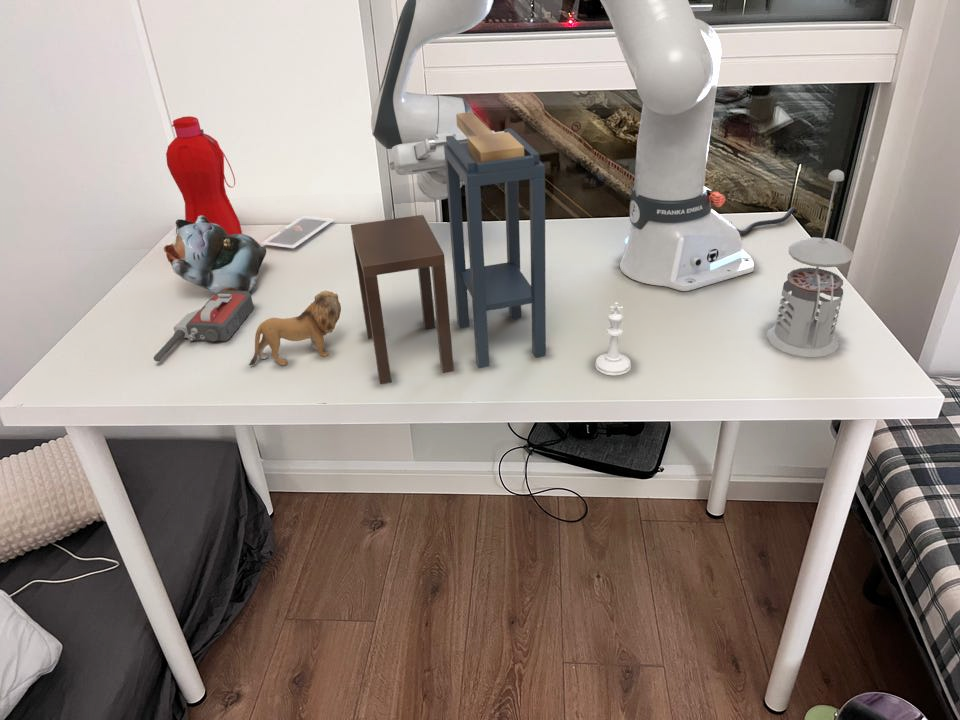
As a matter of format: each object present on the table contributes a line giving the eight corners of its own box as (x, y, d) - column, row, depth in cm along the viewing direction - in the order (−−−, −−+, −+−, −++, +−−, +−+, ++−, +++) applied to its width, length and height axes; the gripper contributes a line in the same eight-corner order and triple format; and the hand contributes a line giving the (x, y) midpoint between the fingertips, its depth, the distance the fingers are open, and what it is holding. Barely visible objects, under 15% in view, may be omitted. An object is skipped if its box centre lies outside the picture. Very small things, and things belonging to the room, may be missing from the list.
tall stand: (518, 313, 120) (513, 127, 104) (545, 356, 109) (545, 155, 93) (457, 323, 118) (443, 136, 102) (478, 368, 107) (466, 166, 91)
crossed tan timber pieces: (483, 123, 111) (482, 107, 110) (524, 164, 94) (524, 146, 93) (446, 127, 110) (445, 112, 109) (481, 169, 93) (480, 152, 92)
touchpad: (336, 224, 155) (334, 214, 154) (294, 253, 144) (292, 242, 143) (304, 220, 158) (302, 210, 157) (260, 248, 146) (258, 238, 145)
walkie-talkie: (210, 303, 128) (151, 367, 111) (204, 279, 126) (142, 341, 109) (259, 304, 127) (207, 369, 110) (254, 280, 124) (199, 343, 108)
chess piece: (630, 377, 103) (634, 312, 98) (593, 374, 104) (596, 310, 99) (631, 357, 107) (635, 295, 102) (596, 355, 108) (598, 293, 103)
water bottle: (243, 255, 144) (211, 123, 131) (186, 258, 144) (149, 126, 131) (256, 236, 152) (227, 109, 138) (202, 238, 152) (168, 112, 139)
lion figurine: (341, 334, 117) (332, 282, 112) (352, 350, 113) (343, 296, 108) (246, 360, 112) (232, 307, 107) (253, 377, 108) (239, 323, 103)
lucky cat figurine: (247, 303, 127) (187, 244, 119) (199, 320, 133) (138, 264, 124) (278, 244, 136) (224, 186, 128) (232, 262, 142) (177, 207, 134)
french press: (831, 323, 112) (869, 158, 99) (849, 366, 103) (894, 189, 89) (762, 320, 114) (790, 157, 100) (773, 362, 104) (806, 188, 91)
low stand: (433, 322, 119) (423, 214, 109) (453, 371, 107) (444, 254, 97) (367, 334, 117) (350, 224, 107) (380, 384, 105) (362, 266, 95)
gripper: (384, 150, 127) (390, 127, 113) (501, 135, 131) (520, 111, 117) (391, 188, 127) (397, 169, 114) (507, 172, 131) (527, 152, 117)
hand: (461, 139), depth 115 cm, fingers open, 8 cm apart
